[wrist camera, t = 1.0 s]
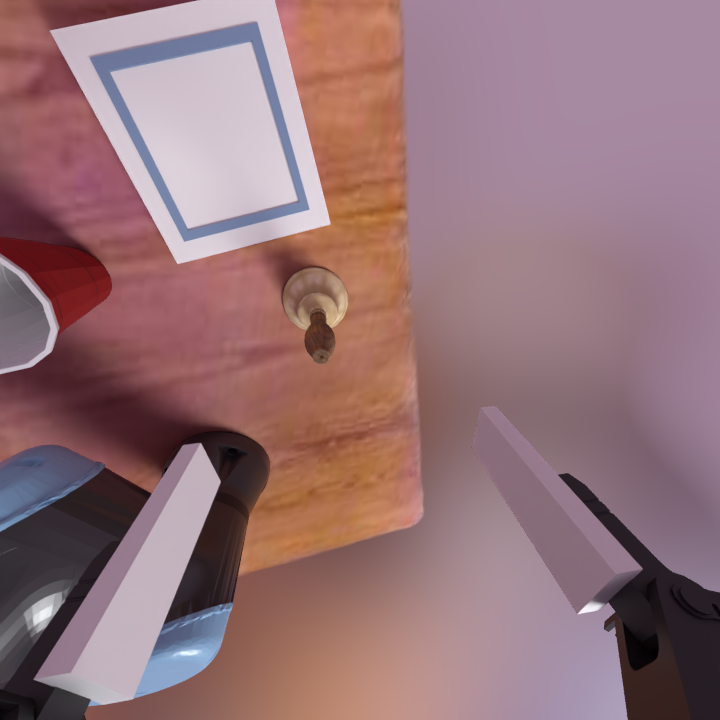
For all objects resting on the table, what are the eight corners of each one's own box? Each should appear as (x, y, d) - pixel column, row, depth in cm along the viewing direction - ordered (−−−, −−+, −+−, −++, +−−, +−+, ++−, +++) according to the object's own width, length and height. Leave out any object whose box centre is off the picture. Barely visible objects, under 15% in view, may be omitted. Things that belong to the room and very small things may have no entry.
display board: (189, 261, 28) (176, 264, 25) (82, 56, 20) (47, 28, 18) (328, 224, 29) (330, 224, 26) (275, 15, 21) (270, -17, 19)
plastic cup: (111, 343, 30) (8, 403, 20) (-6, 278, 26) (-224, 309, 15) (162, 278, 28) (76, 305, 18) (44, 192, 24) (-166, 161, 13)
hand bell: (350, 327, 35) (378, 391, 21) (289, 335, 34) (276, 407, 20) (345, 264, 31) (375, 291, 17) (276, 270, 30) (249, 304, 16)
